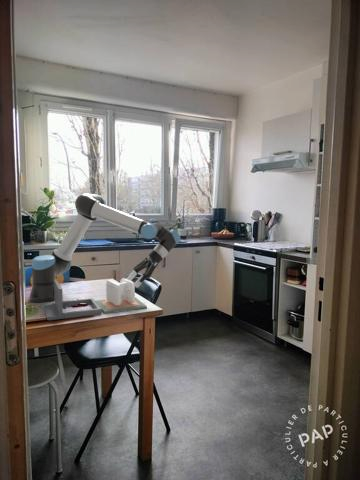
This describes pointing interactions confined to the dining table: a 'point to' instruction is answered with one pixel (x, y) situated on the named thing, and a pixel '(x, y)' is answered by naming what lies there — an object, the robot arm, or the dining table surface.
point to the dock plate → (120, 306)
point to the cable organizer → (120, 291)
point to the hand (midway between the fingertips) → (131, 283)
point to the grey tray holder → (56, 309)
